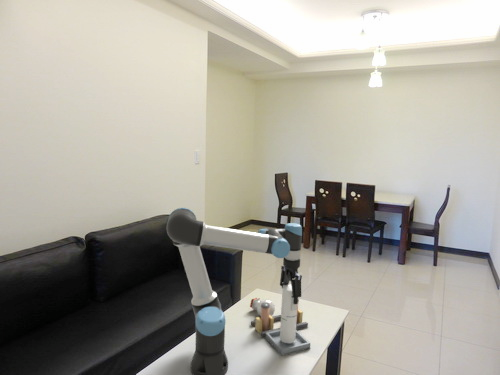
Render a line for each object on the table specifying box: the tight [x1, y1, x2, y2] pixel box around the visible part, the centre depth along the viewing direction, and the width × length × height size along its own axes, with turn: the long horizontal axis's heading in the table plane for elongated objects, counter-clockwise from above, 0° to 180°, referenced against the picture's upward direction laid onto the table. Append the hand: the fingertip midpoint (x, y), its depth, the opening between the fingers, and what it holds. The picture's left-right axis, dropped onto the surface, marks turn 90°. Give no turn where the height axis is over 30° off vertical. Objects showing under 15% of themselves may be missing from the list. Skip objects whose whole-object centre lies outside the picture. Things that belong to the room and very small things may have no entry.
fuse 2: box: [296, 298, 300, 324], centre depth 178 cm, size 4×4×13 cm
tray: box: [265, 329, 311, 357], centre depth 160 cm, size 15×15×2 cm
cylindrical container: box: [279, 283, 297, 343], centre depth 159 cm, size 7×7×25 cm
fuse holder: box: [250, 308, 309, 338], centre depth 175 cm, size 26×13×6 cm, turn 115°
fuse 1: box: [260, 303, 270, 332], centre depth 171 cm, size 4×4×13 cm
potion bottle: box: [249, 297, 276, 317], centre depth 186 cm, size 9×10×15 cm
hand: (289, 306), depth 158 cm, fingers closed on cylindrical container, 7 cm apart
